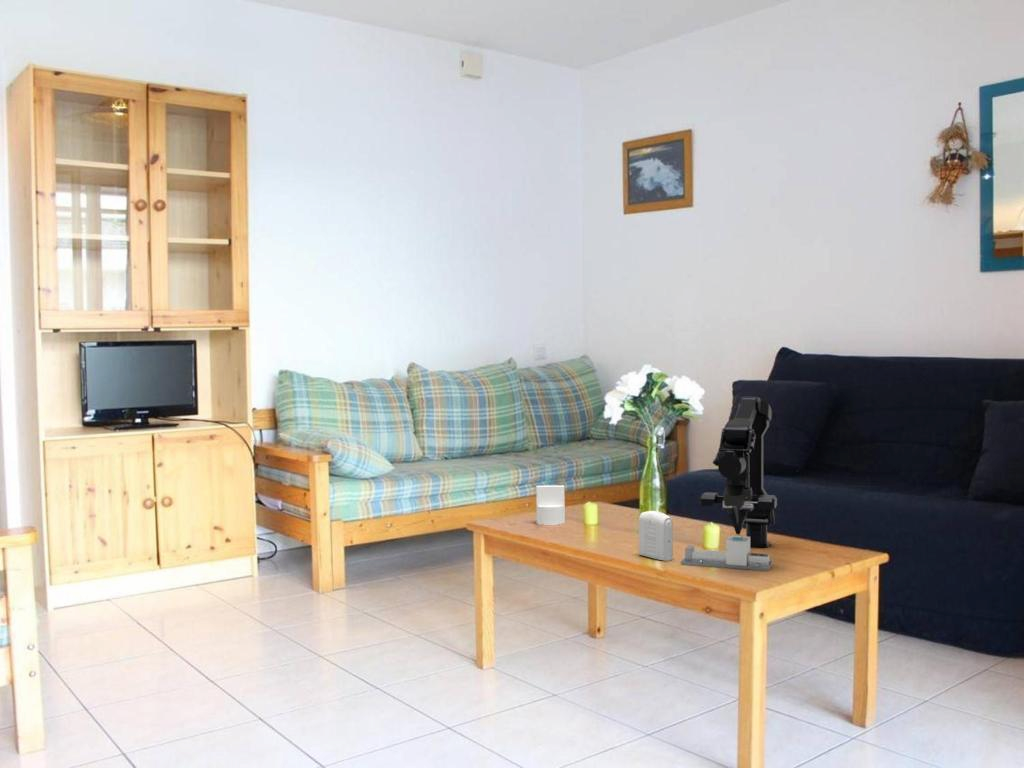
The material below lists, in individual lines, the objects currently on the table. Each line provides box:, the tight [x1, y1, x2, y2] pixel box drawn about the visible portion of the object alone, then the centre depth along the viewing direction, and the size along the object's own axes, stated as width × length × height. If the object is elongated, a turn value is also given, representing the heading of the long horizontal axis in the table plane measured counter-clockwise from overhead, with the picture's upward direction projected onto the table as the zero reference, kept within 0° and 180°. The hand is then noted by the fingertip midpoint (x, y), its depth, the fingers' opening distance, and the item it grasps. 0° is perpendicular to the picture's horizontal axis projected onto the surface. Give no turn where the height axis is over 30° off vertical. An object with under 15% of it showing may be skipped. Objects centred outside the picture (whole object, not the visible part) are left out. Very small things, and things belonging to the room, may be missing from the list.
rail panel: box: [680, 544, 773, 572], centre depth 249 cm, size 8×22×4 cm, turn 68°
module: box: [725, 535, 751, 566], centre depth 248 cm, size 7×5×7 cm
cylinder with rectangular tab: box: [535, 484, 566, 525], centre depth 308 cm, size 9×9×12 cm
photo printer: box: [638, 510, 674, 562], centre depth 258 cm, size 10×4×12 cm, turn 37°
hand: (738, 534), depth 247 cm, fingers closed
